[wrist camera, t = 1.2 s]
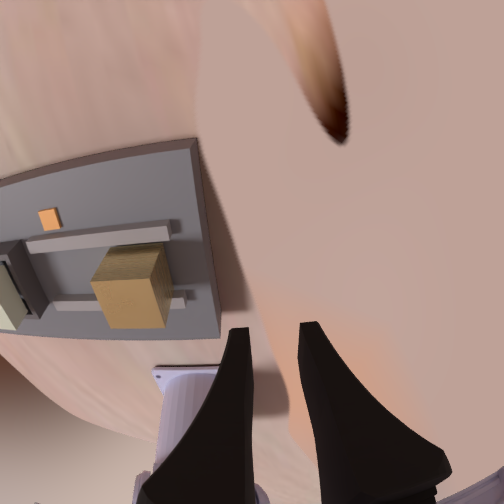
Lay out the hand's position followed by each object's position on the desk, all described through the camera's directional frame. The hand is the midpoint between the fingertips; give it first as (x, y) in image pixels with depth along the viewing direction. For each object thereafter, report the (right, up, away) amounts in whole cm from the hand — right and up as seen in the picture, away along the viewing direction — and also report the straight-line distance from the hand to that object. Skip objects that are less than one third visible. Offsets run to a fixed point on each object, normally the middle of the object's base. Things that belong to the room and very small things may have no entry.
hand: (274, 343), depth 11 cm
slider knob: (-7, +2, +5) cm, 9 cm away
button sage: (-17, +1, +3) cm, 18 cm away
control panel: (-15, +3, +7) cm, 17 cm away
